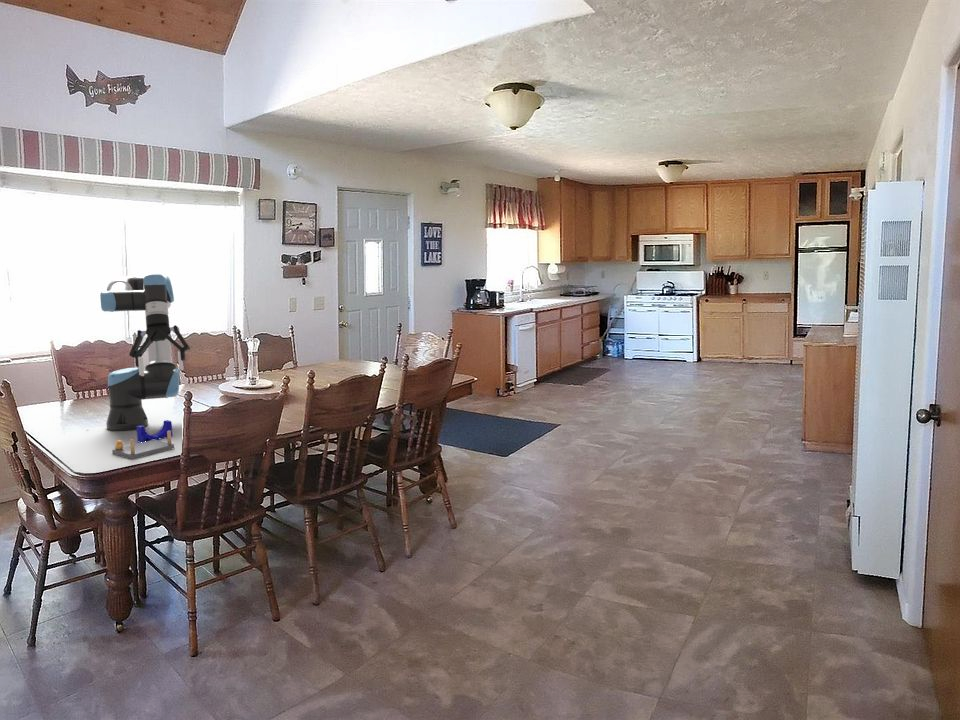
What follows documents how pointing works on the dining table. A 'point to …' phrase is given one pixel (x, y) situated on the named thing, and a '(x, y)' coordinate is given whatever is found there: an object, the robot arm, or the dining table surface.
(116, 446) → the wire nut
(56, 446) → the dining table surface
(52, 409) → the dining table surface
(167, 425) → the blue u-shaped block
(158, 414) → the dining table surface
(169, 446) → the junction plate
